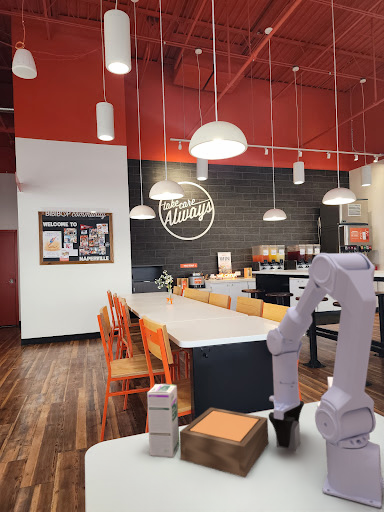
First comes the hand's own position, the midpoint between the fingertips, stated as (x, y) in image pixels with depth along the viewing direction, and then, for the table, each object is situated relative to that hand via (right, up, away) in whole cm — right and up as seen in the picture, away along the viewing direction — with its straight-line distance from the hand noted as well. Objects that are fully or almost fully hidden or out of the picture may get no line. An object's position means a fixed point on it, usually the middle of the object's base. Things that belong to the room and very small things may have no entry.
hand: (288, 438), depth 82 cm
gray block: (0, -2, 0) cm, 2 cm away
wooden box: (-15, -2, -2) cm, 15 cm away
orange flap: (-15, +3, -2) cm, 15 cm away
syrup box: (-29, -3, -1) cm, 29 cm away
